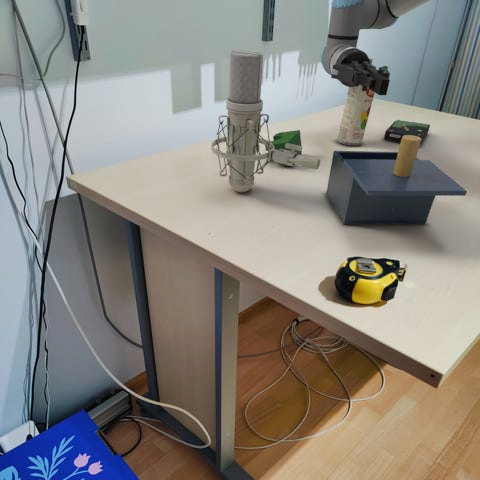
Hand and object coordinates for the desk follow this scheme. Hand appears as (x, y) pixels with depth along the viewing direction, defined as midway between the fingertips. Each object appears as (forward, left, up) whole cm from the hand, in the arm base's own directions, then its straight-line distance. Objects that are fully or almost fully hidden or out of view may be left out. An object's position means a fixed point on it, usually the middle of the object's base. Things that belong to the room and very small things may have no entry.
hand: (384, 87), depth 82 cm
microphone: (+24, +6, -20) cm, 31 cm away
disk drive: (-24, -36, -20) cm, 48 cm away
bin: (+2, +12, -20) cm, 23 cm away
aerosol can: (-5, -30, -19) cm, 36 cm away
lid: (+2, +20, -10) cm, 23 cm away
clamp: (+16, -16, -20) cm, 30 cm away
